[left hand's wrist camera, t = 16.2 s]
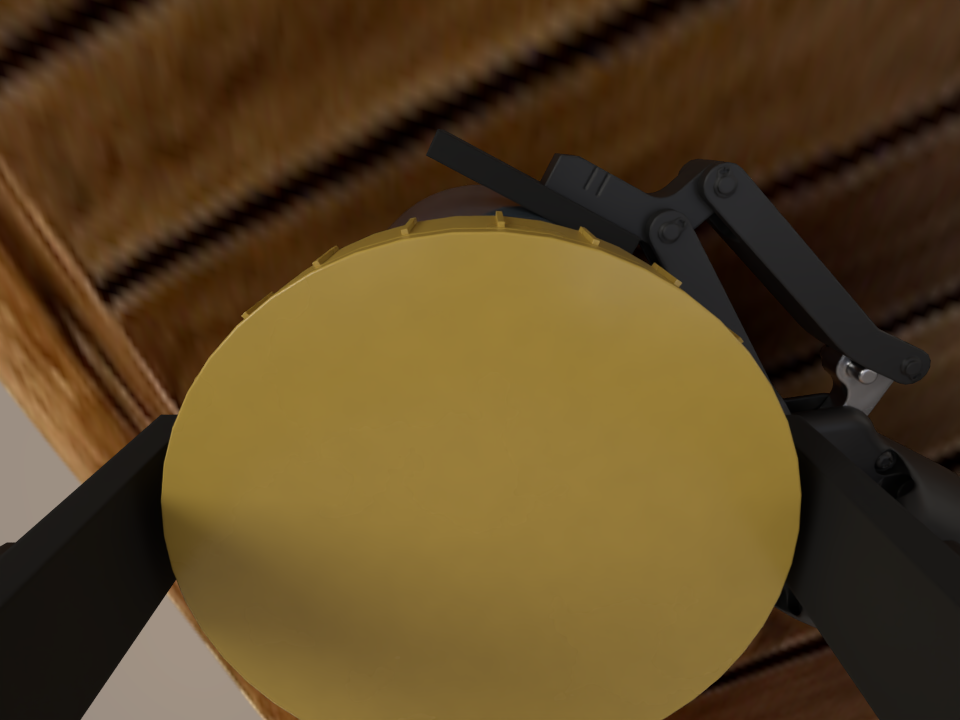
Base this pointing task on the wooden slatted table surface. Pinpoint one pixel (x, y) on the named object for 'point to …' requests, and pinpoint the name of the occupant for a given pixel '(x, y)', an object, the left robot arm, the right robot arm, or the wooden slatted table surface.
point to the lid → (481, 483)
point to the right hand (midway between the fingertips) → (363, 300)
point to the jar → (465, 206)
